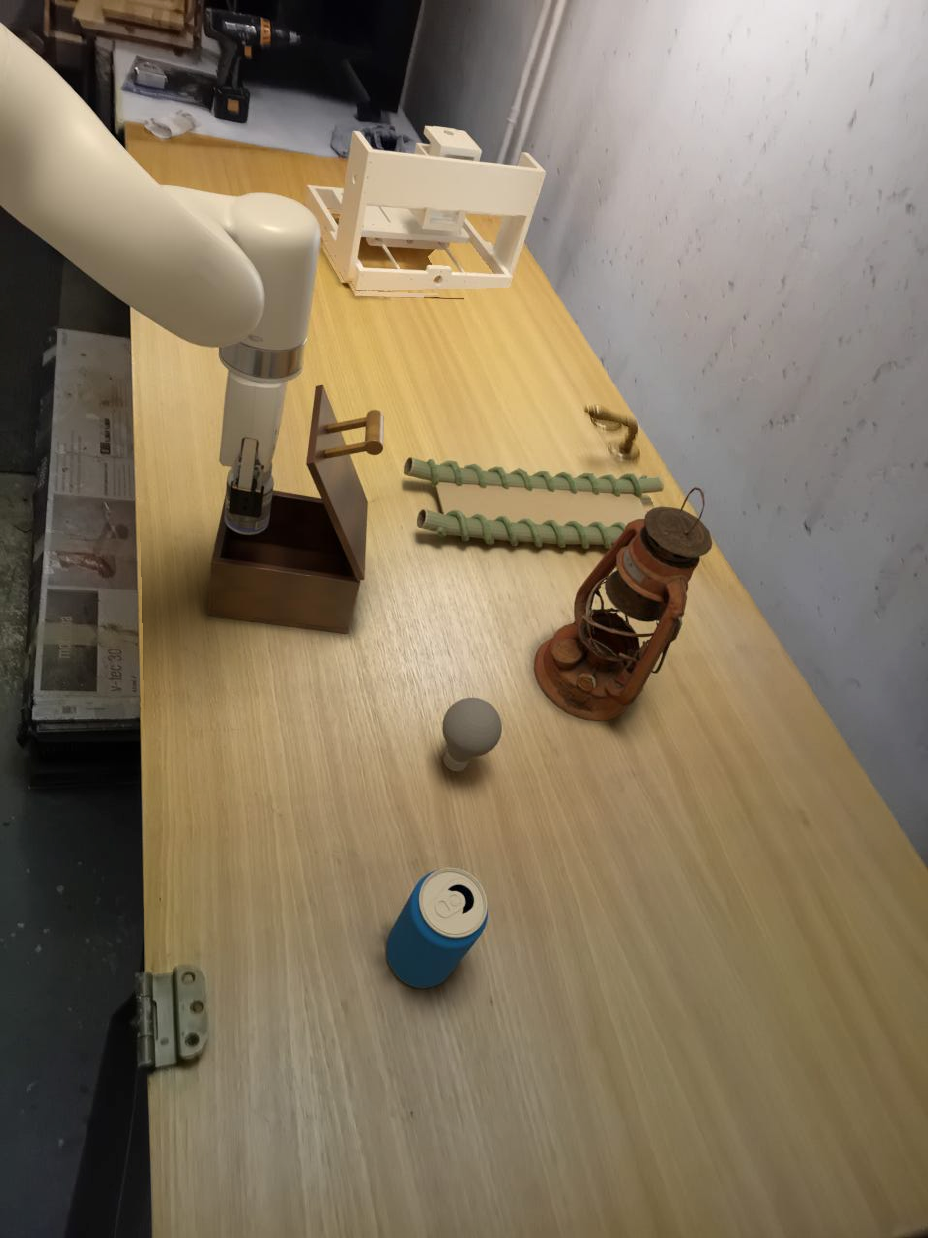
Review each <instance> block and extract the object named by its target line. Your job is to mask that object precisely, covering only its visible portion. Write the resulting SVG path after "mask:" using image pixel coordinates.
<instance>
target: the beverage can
mask: <svg viewBox="0 0 928 1238" xmlns="http://www.w3.org/2000/svg"><path fill="white" fill-rule="evenodd" d="M488 905H489V904H488V897H487V894H486V892H485V889H484V887H483V885H482V883H480V881H479V880H478V879H477V878H476V877H475V876H474V875H473V874H471V873H470V872H468V871H466V870H464V869H461V868H458V867H443V868H440V869H436V870H432V871H430V872H429V873H427V874H425V875H424V876H423V877H422V878H420V879H419V881H417V883H416V884H415V886H414V888H413V889H412V891H411V893H410V895H409V897H408V899H407V900H406V902H405V904H404V906H403V908H402V910H401V911H400V913H399V915H398V916H397V919H396V920H395V922H394V924H393V926H392V928H391V929H390V931H389V934H388V936H387V940H386V945H385V946H386V948H385V949H386V958H387V961H388V964H389V966H390V968H391V970H392V971H393V973H394V974H395V975H396V976H397V977H398V978H399V979H400V980H401V981H403V983H405V984H407V985H409V986H412V987H415V988H425V989H426V988H431V987H435V986H437V985H439V984H442V983H443V982H444V981H446V979H448V977H449V976H450V975H451V974H452V973H453V972H454V970H455V969H456V968H457V966H458V965H459V964H460V962H461V961H462V960H463V959H464V958H465V956H466V955H467V953H468V952H469V951H470V950H471V948H472V947H473V946H474V945H475V943H476V942H477V941H478V939H479V938H481V935H482V934H483V933H484V931H485V929H486V927H487V924H488V919H489V906H488Z"/></svg>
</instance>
